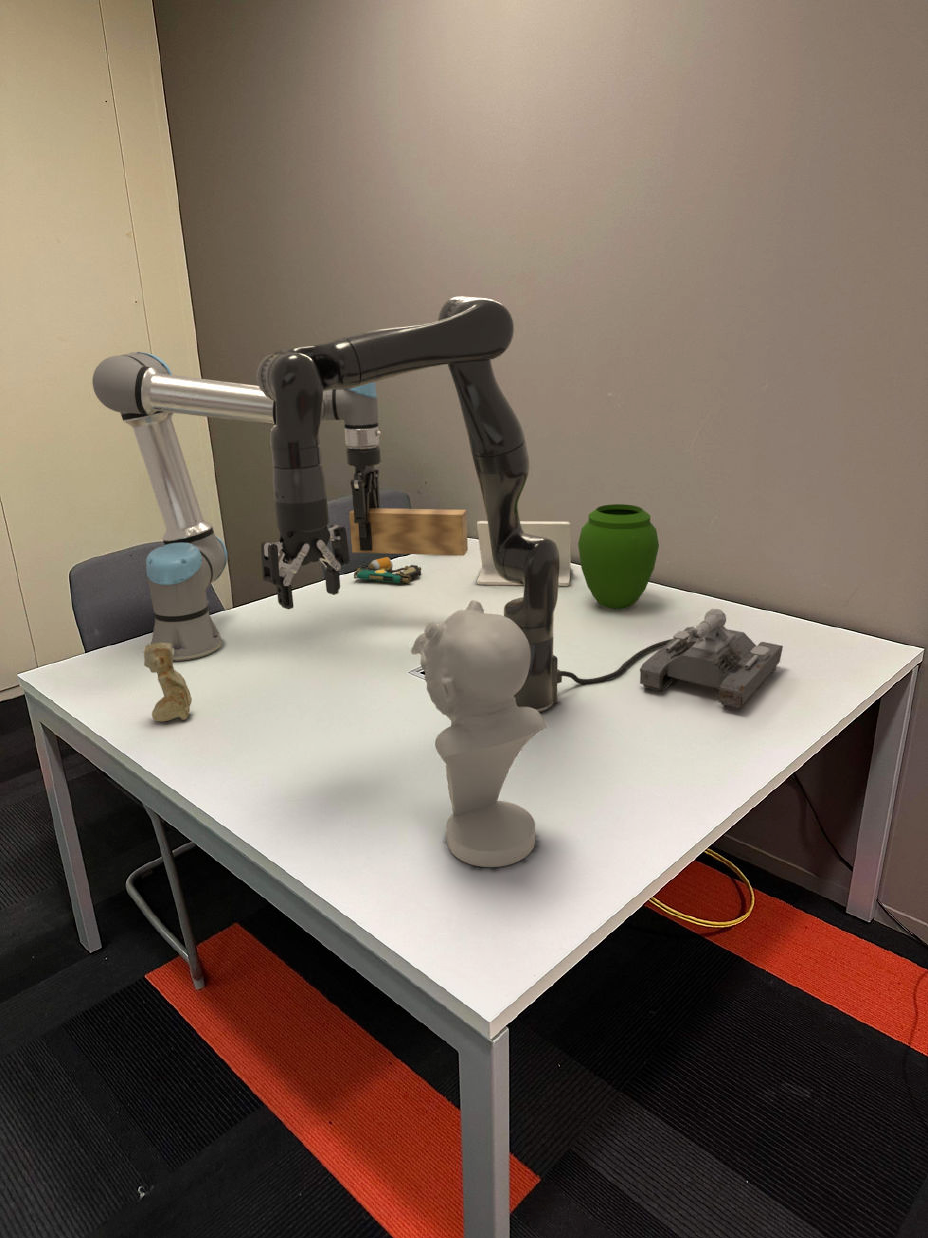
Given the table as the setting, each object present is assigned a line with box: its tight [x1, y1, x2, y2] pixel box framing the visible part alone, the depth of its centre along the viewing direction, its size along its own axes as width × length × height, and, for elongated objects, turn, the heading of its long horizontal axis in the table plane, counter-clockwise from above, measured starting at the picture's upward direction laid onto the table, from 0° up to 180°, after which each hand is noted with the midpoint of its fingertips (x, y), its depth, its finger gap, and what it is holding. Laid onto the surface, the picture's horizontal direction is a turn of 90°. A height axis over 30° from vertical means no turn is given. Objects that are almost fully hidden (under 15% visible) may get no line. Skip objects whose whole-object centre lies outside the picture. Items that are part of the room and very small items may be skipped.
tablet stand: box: [476, 520, 572, 587], centre depth 236 cm, size 18×25×17 cm
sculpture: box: [142, 643, 193, 723], centre depth 160 cm, size 6×7×15 cm
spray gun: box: [353, 556, 422, 584], centre depth 239 cm, size 4×17×15 cm
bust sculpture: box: [410, 599, 547, 868], centre depth 121 cm, size 16×24×35 cm
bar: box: [348, 507, 469, 557], centre depth 196 cm, size 26×5×10 cm, turn 78°
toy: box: [639, 608, 784, 710], centre depth 169 cm, size 25×20×15 cm
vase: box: [577, 503, 660, 610], centre depth 210 cm, size 20×20×24 cm
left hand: (369, 546), depth 199 cm, fingers closed on bar, 5 cm apart
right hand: (310, 600), depth 130 cm, fingers open, 8 cm apart
